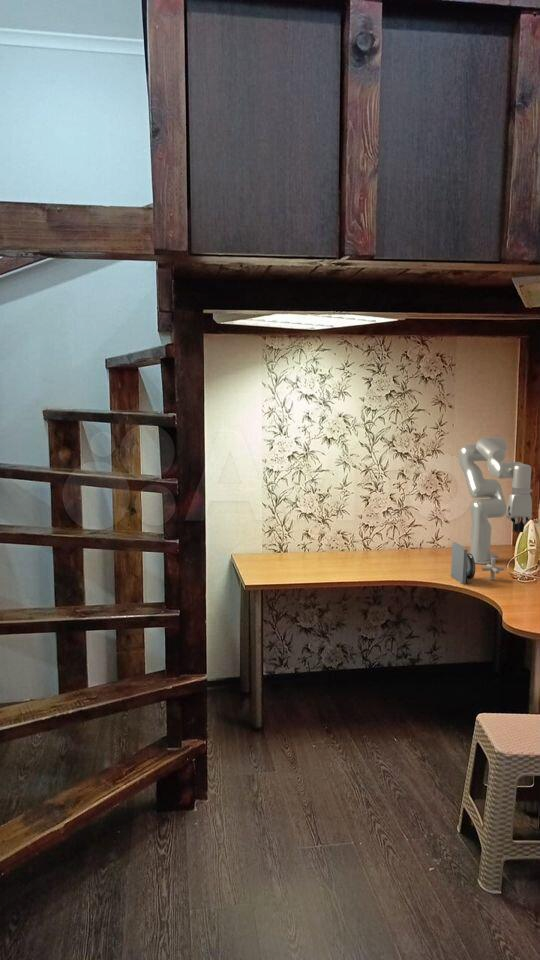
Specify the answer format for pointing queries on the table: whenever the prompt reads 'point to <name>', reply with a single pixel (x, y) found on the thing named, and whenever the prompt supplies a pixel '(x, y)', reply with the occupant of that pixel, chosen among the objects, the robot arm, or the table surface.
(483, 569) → the pipe connector
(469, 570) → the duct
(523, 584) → the table surface
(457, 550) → the mounting panel
